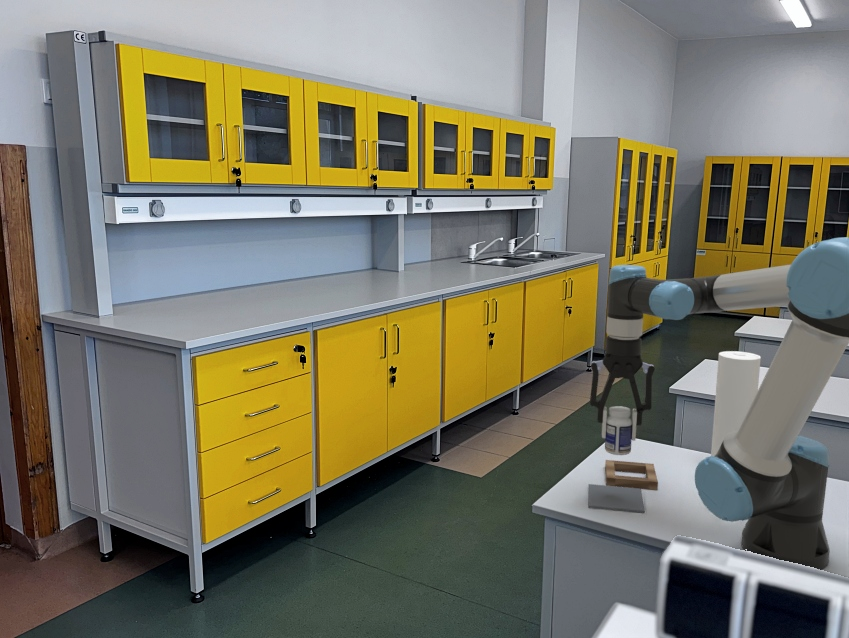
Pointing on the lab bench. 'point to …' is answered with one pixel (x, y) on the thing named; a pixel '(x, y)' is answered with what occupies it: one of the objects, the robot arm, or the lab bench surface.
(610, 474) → the wooden square frame
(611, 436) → the pill bottle
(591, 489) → the rubber mat
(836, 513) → the lab bench surface
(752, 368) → the cylinder container
